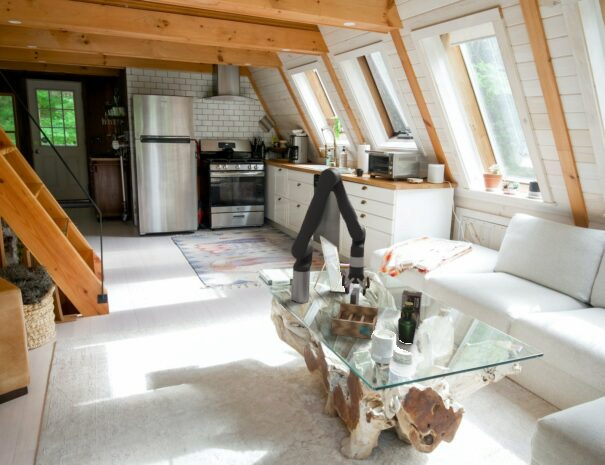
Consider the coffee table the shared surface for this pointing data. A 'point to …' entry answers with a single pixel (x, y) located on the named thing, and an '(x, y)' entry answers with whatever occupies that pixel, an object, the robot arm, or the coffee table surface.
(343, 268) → the candy bar box
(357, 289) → the panel
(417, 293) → the coffee box
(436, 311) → the coffee table surface
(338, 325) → the rack
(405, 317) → the potion bottle
